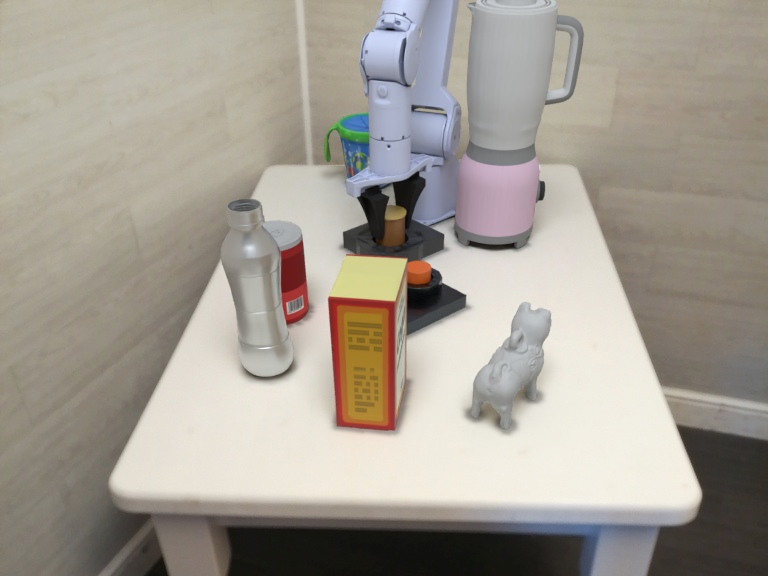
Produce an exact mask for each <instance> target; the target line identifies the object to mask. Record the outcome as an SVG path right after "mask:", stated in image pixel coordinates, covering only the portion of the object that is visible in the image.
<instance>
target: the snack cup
mask: <svg viewBox="0 0 768 576" xmlns="http://www.w3.org/2000/svg"><path fill="white" fill-rule="evenodd" d="M334 131H336V132H337V133H338V136H339V138H340V144H341V150H342V154H343V161H344V166H345V171H346V178H347V179H349V178H351V177H353V176H355V175H356V174H358V173H359V172H361V171H362V170H364V169H365V168H367V167H368V162H369V161H370V149H369V112H358V113H353V114H348V115H345V116H343V117H341V118H340V119H338V121H337V122H336V123H335V122H334V124H333V125H331V126H330V128H329V129H328V130H327V132H326V135H325V138H324V140H323V141H324V143H323V153H324V158H325V162H327V163H330V162H331V161H332V160H331V159H332V156H331V155H332V154H331V150H330V149H331V148H330V142H329V139H330V135H331V133H332V132H334ZM387 185H388V184H386V185H383V186H380V189H381V188H384V187H385V186H387Z"/></svg>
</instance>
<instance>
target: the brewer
mask: <svg viewBox="0 0 768 576" xmlns="http://www.w3.org/2000/svg"><path fill="white" fill-rule="evenodd" d="M466 307H467V294H465V293H463V292H461V291H459V290H457V289H456V288H453V287H451V286H450V285H448V284H446V283H444V282H443V276H442V274H441V271H439V270H437V268H434V267H432V266H431V280H430V282H428V283H425V284H412V283H408V282H407V337H408V336H410V335H412V334H414V333H416V332H417V331H420V330H422V329H424V328H427V327H428V326H430V325H432V324H434V323H437V322H438V321H440V320H442V319H445V318H446V317H449V316H451V315H454V314H455V313H457V312H459V311H461V310H463V309H465V308H466Z"/></svg>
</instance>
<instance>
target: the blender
mask: <svg viewBox="0 0 768 576" xmlns="http://www.w3.org/2000/svg"><path fill="white" fill-rule="evenodd" d="M465 6H466V7H467V8H468V9H469V11H470V13H471V25H470V33H469V42H468V52H467V53H468V54H467V68H466V69H467V70H466V71H467V72H466V103H467V105H466V106H467V120H468V122H467V123H468V131H469V132H468V133H469V134H468V135H469V136H468V137H469V139H468V144H467V147H466V149H465V151H464V153H463V155H462V157H461V159H460V161H459V162H460V166H459V171H458V182H457V198H456V215H454V221H453V228H454V231H455V232H456V233H457V239H458V240H457V241H458V243H460V244H462V245H463V246H465V247H466V246H469V245H470V241H471V242H474V243H478V244H484V245H508V244H514V248H516V249H520V248H523V247H524V246H525V245H526V243H527V239H528V237H529V236H530V235H531V234H532V232H533V225H534V217H535V210H536V205H537V204H538V202H541V201H543V200H544V199H545V195H546V182H545V181H544V180H540V173H541V163H540V162H539V158H538V156H537V151H536V138H537V134H538V130H539V127H540V125H541V120H542V115H543V112H544V110H545V106H549V105H555V104H560V103H564V102H567V101H568V100H570V99H571V98H572V97H573V95H574V93H575V89H576V86H577V81H578V76H579V71H580V65H581V58H582V54H583V46H584V39H585V38H584V37H585V31H584V28H583V24H582V23H581V22H580V20H579V19H577V18H576V17H574V16H570V15H565V14H564V15H563V14H558V11H559V5H558V3H557V1H556V0H476V1H473V2H468V3H466V5H465ZM557 32H566V33H568V34H569V36H570V38H569V39H570V41H569V49H568V54H567V61H566V62H567V63H566V68H565V74H564V79H563V84H562V87H561V88H558V89H552V90H549V88H550V82H551V77H552V76H551V75H552V69H553V68H552V67H553V62H554V54H555V48H556V47H555V45H556V34H557Z"/></svg>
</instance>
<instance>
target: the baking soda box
mask: <svg viewBox="0 0 768 576" xmlns="http://www.w3.org/2000/svg"><path fill="white" fill-rule="evenodd" d="M407 268H408V258H404V257H387V256H371V255H356V253H353V254H351V253H346V254H345V256H344V259H343V260H342V264H341V265H340V268H339V271H338V273H337V276H336V278H335V281H334V283H333V285H332V287H331V290H330V292H329V295H328V297H327V307H328V320H329V321H328V322H329V333H330V335H329V336H330V346H331V361H332V374H333V375H332V376H333V388H334V402H335V417H336V427H341V428H353V429H363V430H364V429H365V430H374V431H375V430H376V431H386V432H387V431H392V432H393V431H394V432H395V431H396V427H397V424H398V423H397V422H398V420H399V419H398V418H399V414H400V409H401V405H402V401H403V397H404V392H405V387H406V383H407V344H408V343H407V337H408V336H407Z"/></svg>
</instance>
